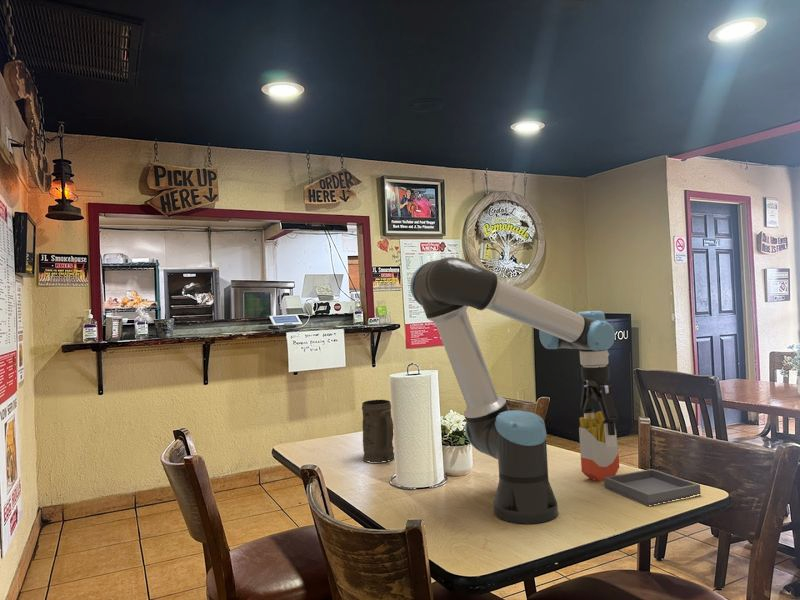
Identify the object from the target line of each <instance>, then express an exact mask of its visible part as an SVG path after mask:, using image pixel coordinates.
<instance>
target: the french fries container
mask: <svg viewBox="0 0 800 600" xmlns="http://www.w3.org/2000/svg"><path fill="white" fill-rule="evenodd" d="M593 413H594V418H592V419H591V414H587V418H586V419H585V418H584V416H580V417H578V418H579V427H578V434H579V449H580V450H579V451H580V452H579V453H580V465H581V472H582V473H583V475H584V476H586V478H588V479H589V480H590V479H591V480H593V481H597V482H604V477H609V476H615V475H616V474H617V472H618V470H619V469H620V455H619V445H618V439H617V438H618V436H617V435H616V446H617V447H606V445H605V432H604V423H603V421H604V420H605V419H604V417H603V414H602V411H601V410H599V411H597V412H593ZM615 433H616V434H617V429H616V428H615Z"/></svg>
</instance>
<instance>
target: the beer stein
mask: <svg viewBox="0 0 800 600" xmlns="http://www.w3.org/2000/svg"><path fill="white" fill-rule="evenodd" d="M361 411H362V449H363V458H362V459H364V460H366V461H370V462H382V461H388V460H392V459H394V455H395V451H394V449H395V448H394V446H393V440H394V433H393V429H394V422H393V417H392V405H391V401H390V400H388V399H387V400H386V399H372V400H366V401H364V402H362V405H361ZM364 460H363V461H364ZM394 460H395V459H394ZM392 461H393V460H392Z"/></svg>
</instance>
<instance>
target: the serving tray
mask: <svg viewBox="0 0 800 600" xmlns="http://www.w3.org/2000/svg"><path fill="white" fill-rule="evenodd" d="M603 482H604V483H603V484H604V489H606V490H609V491H611V492H613V491H614V492H613V493H615V492H616V494H618V495H620V494H621V495H620V496H623V497H625V496H626V497H625V498H627V497H628V499H630V498H631V500H632V499H633V501H635V500H636V501H635V502H637V501H638V502H637V503H639V502H641V503H640V504H642V503H644V504H646V505H654V504H658V503H663V502H668V501H672V500H676V499H681V498H686V497H690V496H693V495H697V494H701V485H700V484H699V483H696V482H693V481H690V480H687V479H684V478H681V477H677V476H675V475H672V474H669V473H666V472H663V471H660V470H657V469H655V468H654V469H653V468H649V469H645V470H638V471H633V472H627V473H620V474H617V475H616V474H615V476H609V477H604V481H603ZM701 495H702V494H701ZM644 504H643V505H644ZM646 505H645V506H646Z"/></svg>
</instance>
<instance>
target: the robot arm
mask: <svg viewBox="0 0 800 600" xmlns="http://www.w3.org/2000/svg"><path fill="white" fill-rule="evenodd" d="M409 287H410V293H411V295H412V297H413V299H414V300H415V301H416V302H417V303H418V304H419V305H421V306H422V309H423V311H424V314H425V317H426V319H427V320H429V321H431V322H432V323H434V324H435V326H436V329H437V331H438V334H439V336H440V339H441V342H442V345H443V348H444V350H445V352H446V355H447V358H448V360H449V363H450V365H451V368H452V371H453V373H454V376H455V379H456V381H457V384H458V387H459V389H460V392H461V394H462V397H463V400H464V402H465V405H466V408H465V410H464V411H463V415H464V419H465V422H466V423H465V424H464V431H465V436H466V439H467V440H468V442H469V444H470V445H471V446H472V447H473V448H475V449H476V450H477V451H478V452H480V453H481V454H485V455H487V456H489V457H491V458H494V459H496V460H497V463H498V478H499V479H498V483H497V487H496V491H495V495H494V499H493V502H492V503H493V505H492V506H493V514H494V515H495V516H496V518H499V519H500V520H503V521H506V522H511V523H516V524H539V523H545V522H548V521H551V520H554V519H555V518H556V517H557V516H558V515H559V512H558V511H559V510H558V509H559V505H558V501H557V499H556V498H557V497H555V493H554V491H553V489H552V486H551V484H550V481H549V480H550V479H549V470H548V469H549V468H548V467H549V466H548V448H547V445H548V444H547V436H548V435H547V430H546V425H545V421H544V419H543V418H542V417H541V416H540V415H538V414H537V413H535V412H530V411H524V410H513V409H512V410H510V408H509V405H508V403H507V400H506V398H505V397H502V396H500V395H498V392H497V389H496V387H495V385H494V383H493V379H492V377H491V374H490V372H489V369H488V366H487V364H486V360H485V358H484V355H483V353H482V350H481V347H480V345H479V341H478V339H477V337H476V334H475V332H474V329H473V326H472V323H471V320H470V318H469V315H468V313H467V309H468V308H469V307H471V308H473V309H476V310H478V311H484V310H489V311H491V312H495V313H497V314H500V315H501V316H505V317H507V318H509V319H511V320H514V321H517V322H518V323H519V322H520V323H522V324H524V325H526V326H528V327H532V328H534V329H537V330H539V331H538V334H539V341H540V343H541V345H542V346H543V347H544V348H545V349H547V350H558V349H569V350H570V349H571V350H572V349H573V350H579V362H580V365H581V367H580V371H581V373H580V375H581V380H582V388H581V389H582V392H581V398H580V407H579V408H580V410H582V412H583V417H584V418H585V419H586V418H587V414H591V419H592V418H595V417H594V413H596V411H595V409H594V407H595V404H596V402H597V404H598V406H599V409H600V411H601V412H602V414H603V417H604V419H605V420H604V421H603V423H604V432H605V445H606V447H617V446H616V436H617V432H616V433H615V429H616V422H617V423H618V422H619V421H620V419H619V415H618V411H617V408H616V405H615V401H614V397H613V394H612V393H613V392H612V391H613V390H612V385H610V384H607V385H606V382H605V381H608V380H610V377H611V375H610V367H609V365H608V364H609V356H610V353H609V351H608V350H609V349H610V348H611V347H612V346H613V345H614V343H615V339H616V332H615V329H614V327H613V326H612V324H611V323H609V322H608V321H606V316H605V312H603V311H602V310H588V311H579V312H574V311H573V310H570V309H567V308H565V307H563V306H561V305H559V304H556V303H555V302H552V301H549V300H547V299H544V298H542V297H540V296H538V295H536V294H533V293H531V292H529V291H526V290H524V289H521V288H520V287H517V286H514V285H513V284H509V283H508V282H506V281H503V280H501V279H499V276H498V274H497V273H495V272H493V271H491V270H488V269H486V268H484V267H481V266H479V265H477V264H475V263H473V262H470V261H468V260H465V259H463V258H459V257H455V256H453V257H452V256H448V257H444V258H439V259H436V260H432V261H427V262H426V263H424V264H422V265H421V266H419V267H418V268H417V269H416V270H415V271H414V272H413V274H412V277H411V280H410V286H409Z"/></svg>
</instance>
